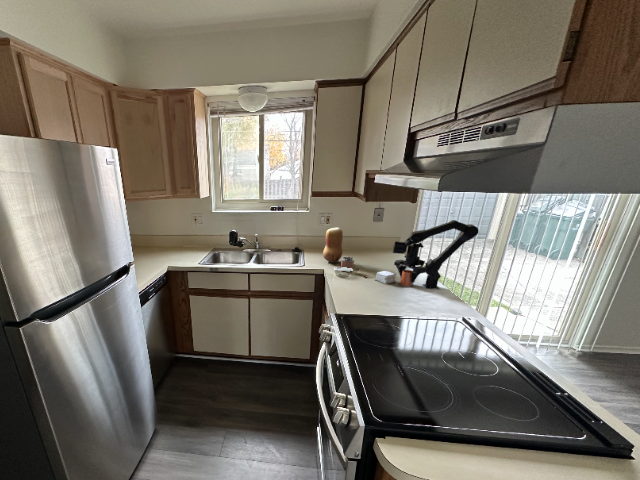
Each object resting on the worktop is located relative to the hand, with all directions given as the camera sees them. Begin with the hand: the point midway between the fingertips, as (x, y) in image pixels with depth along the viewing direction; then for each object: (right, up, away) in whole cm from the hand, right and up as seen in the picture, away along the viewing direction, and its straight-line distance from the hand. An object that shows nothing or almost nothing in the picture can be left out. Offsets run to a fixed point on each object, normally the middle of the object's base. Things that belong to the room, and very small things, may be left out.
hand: (407, 280), depth 186 cm
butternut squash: (-30, +16, +47) cm, 58 cm away
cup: (0, -2, +1) cm, 3 cm away
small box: (-10, 0, +7) cm, 12 cm away
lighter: (-27, +8, +27) cm, 38 cm away
